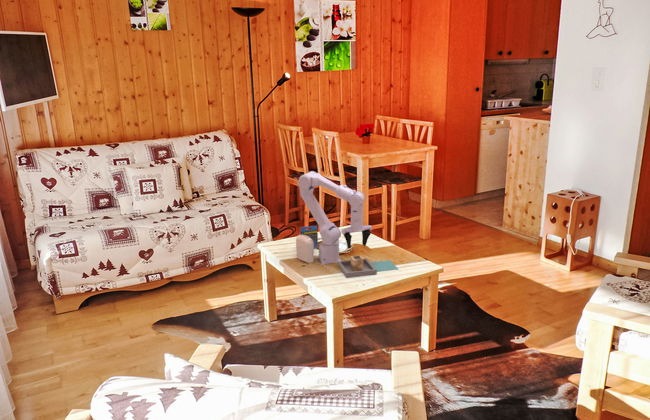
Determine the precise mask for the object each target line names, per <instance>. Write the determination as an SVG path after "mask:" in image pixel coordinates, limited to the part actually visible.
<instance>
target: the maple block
mask: <svg viewBox="0 0 650 420" xmlns="http://www.w3.org/2000/svg"><path fill="white" fill-rule="evenodd" d="M363 259H364V258H363V257H362V255H360V254H359V255H352V256H350V260H351V269H352V271H353V272H354V271H363Z"/></svg>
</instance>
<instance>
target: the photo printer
mask: <svg viewBox="0 0 650 420" xmlns="http://www.w3.org/2000/svg"><path fill="white" fill-rule="evenodd" d="M295 247H296V248H295V250H296V258H297V259H299V260H301V261H303V262H305V263H308V264H310V263H313V262H315V248H314V242H313V240H312V239H311V238H310V237H308V236H306V235H299V234H298V235H297V236H296V238H295Z"/></svg>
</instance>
